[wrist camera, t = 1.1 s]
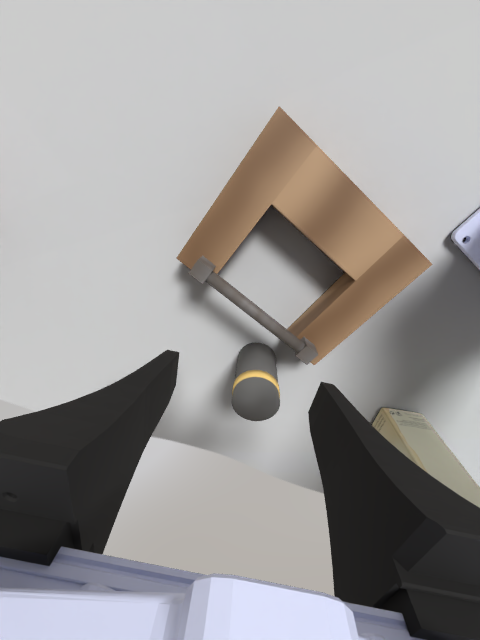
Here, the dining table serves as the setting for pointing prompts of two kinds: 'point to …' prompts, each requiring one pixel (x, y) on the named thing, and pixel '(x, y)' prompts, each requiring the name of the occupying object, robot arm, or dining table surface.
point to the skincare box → (426, 450)
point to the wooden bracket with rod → (314, 223)
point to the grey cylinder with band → (256, 383)
